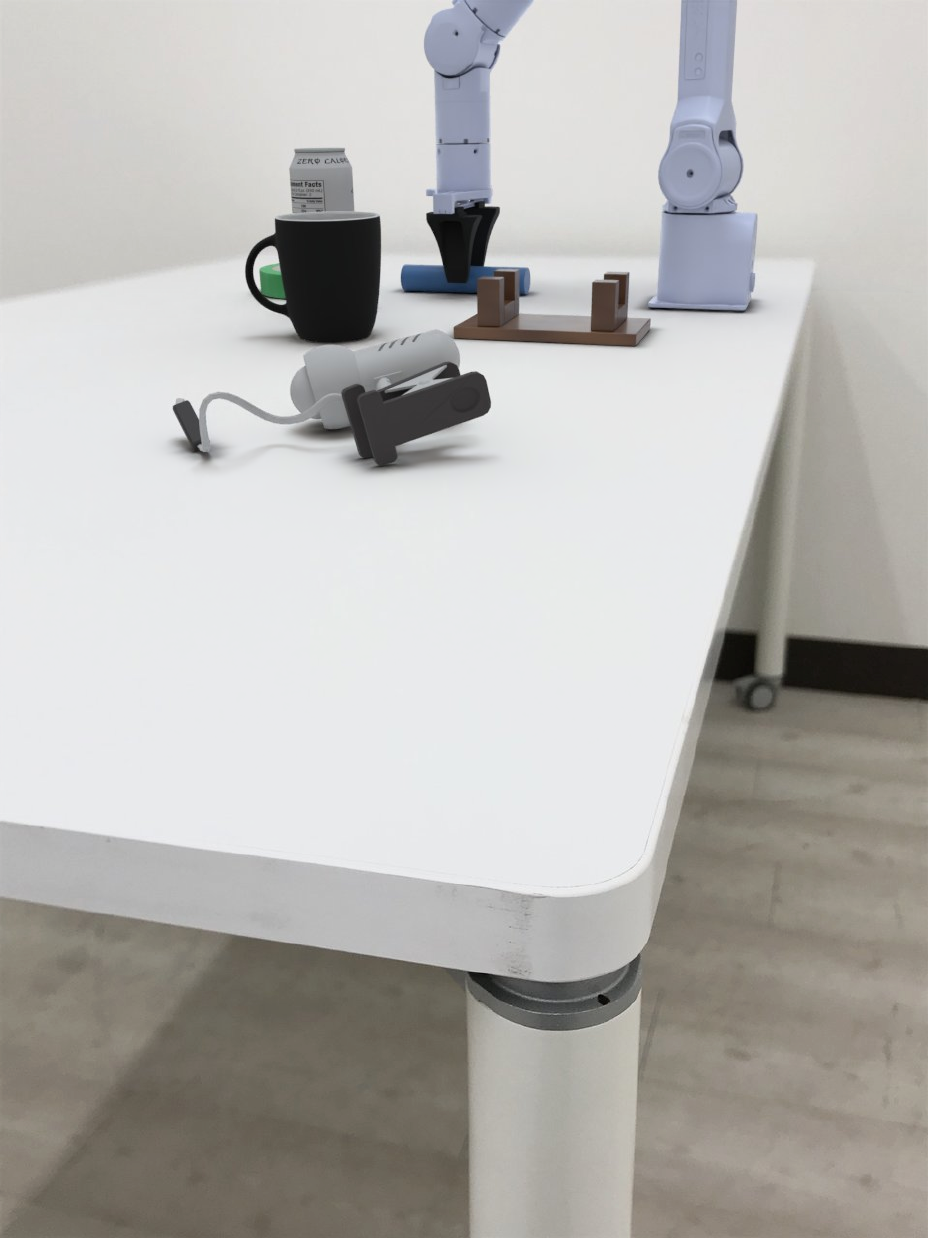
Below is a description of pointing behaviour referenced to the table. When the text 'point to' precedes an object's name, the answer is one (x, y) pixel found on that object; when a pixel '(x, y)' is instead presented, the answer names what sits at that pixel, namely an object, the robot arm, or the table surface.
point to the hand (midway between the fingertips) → (464, 279)
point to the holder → (506, 323)
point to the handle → (436, 281)
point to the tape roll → (272, 281)
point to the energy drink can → (321, 180)
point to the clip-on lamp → (371, 394)
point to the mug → (325, 273)
